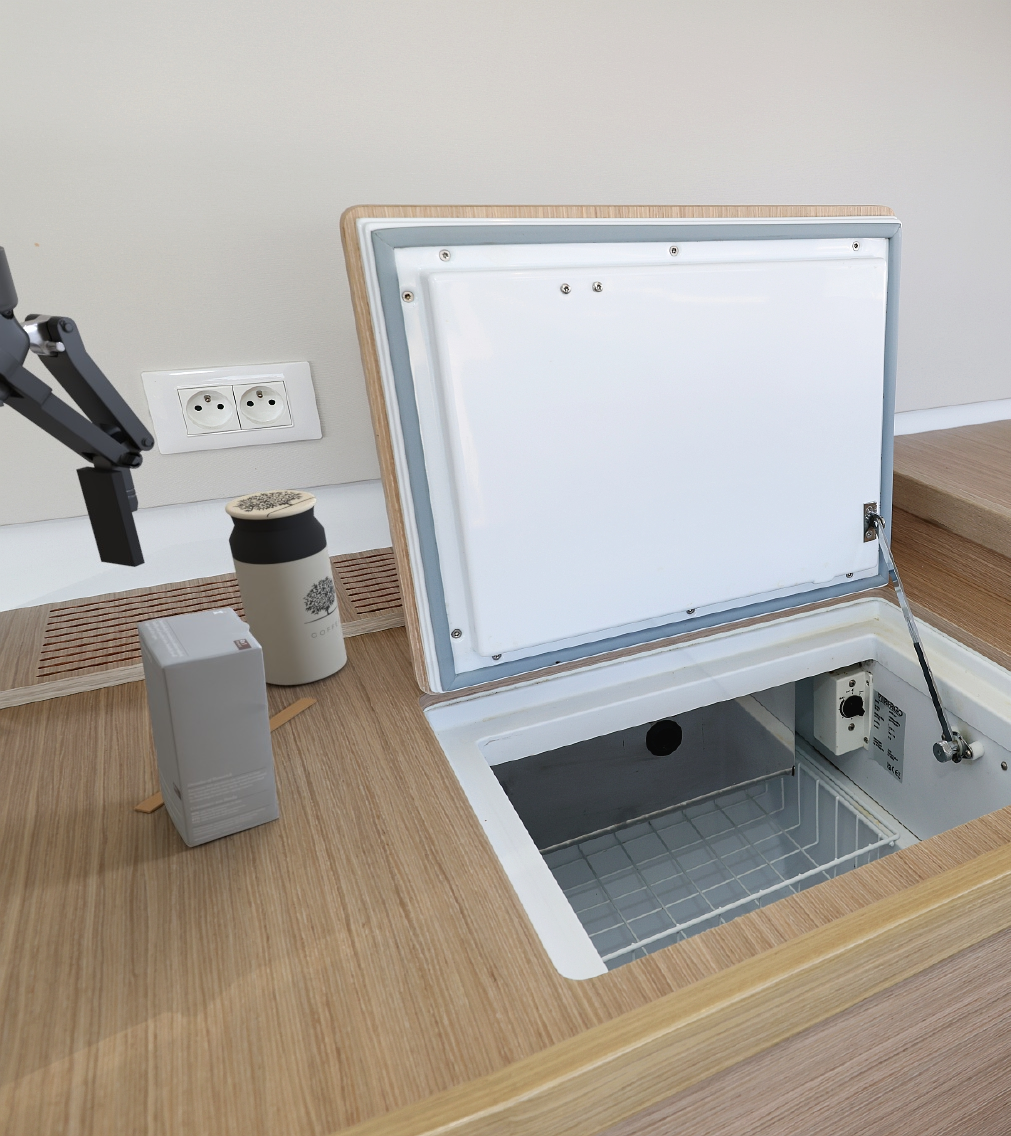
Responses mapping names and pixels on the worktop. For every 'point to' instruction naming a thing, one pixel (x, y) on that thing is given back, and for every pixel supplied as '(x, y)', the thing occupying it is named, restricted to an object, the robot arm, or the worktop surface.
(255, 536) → the travel mug
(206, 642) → the cosmetic box
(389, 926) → the worktop surface
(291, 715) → the wooden strip
